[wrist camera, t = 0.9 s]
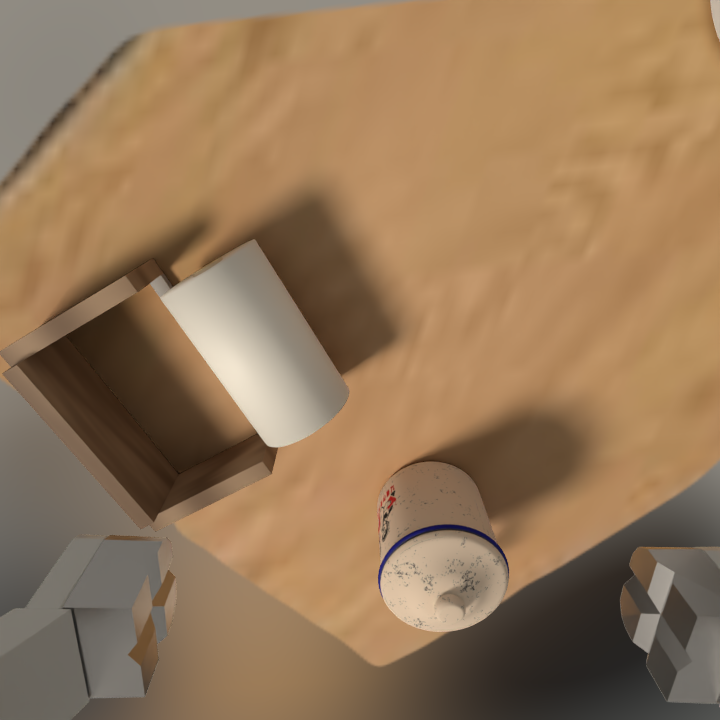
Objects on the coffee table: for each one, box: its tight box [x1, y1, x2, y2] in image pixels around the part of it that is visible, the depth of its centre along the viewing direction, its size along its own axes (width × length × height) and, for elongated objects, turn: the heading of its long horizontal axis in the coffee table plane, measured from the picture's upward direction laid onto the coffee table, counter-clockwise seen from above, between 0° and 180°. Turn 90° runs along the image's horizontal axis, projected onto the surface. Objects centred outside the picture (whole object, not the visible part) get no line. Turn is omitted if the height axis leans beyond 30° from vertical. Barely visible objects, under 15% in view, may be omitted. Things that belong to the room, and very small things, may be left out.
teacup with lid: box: [377, 462, 509, 632], centre depth 41 cm, size 12×9×12 cm
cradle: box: [0, 259, 278, 532], centre depth 39 cm, size 10×16×6 cm, turn 29°
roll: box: [160, 239, 349, 447], centre depth 37 cm, size 12×7×7 cm, turn 29°
